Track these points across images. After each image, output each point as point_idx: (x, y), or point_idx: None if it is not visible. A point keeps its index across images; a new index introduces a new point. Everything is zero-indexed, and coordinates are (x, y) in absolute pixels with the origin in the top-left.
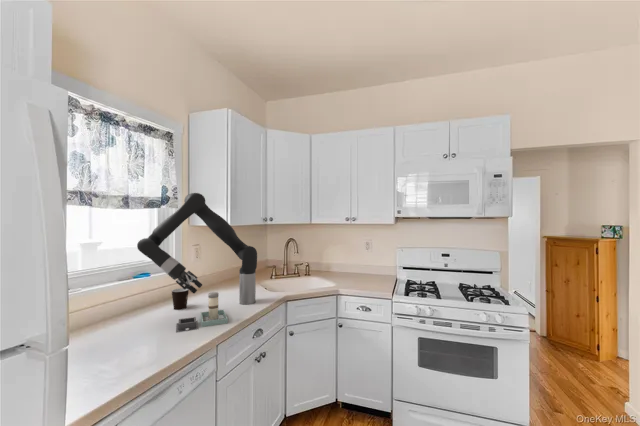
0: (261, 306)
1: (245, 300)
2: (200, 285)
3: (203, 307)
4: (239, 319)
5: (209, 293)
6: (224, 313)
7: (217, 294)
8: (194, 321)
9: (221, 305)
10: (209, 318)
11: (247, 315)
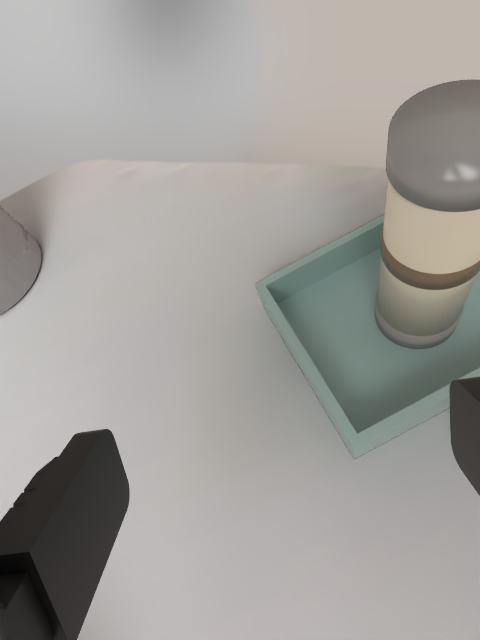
0: (97, 176)
1: (21, 252)
2: (109, 465)
3: None
4: (337, 186)
5: (477, 168)
6: (354, 236)
7: (468, 87)
8: None
9: (15, 428)
10: (460, 313)
11: (259, 177)
